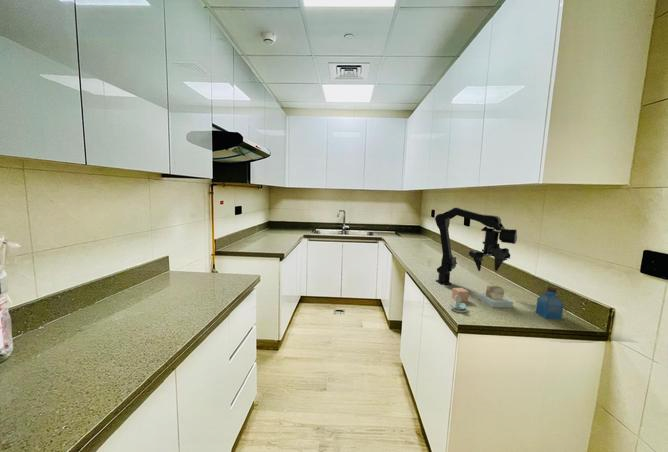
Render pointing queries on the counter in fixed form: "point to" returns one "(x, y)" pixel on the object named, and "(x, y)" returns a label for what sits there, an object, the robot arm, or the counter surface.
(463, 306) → the pacifier
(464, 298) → the terracotta cube
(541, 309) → the perfume bottle
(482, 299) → the blue-grey slab
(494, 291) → the birch cube
